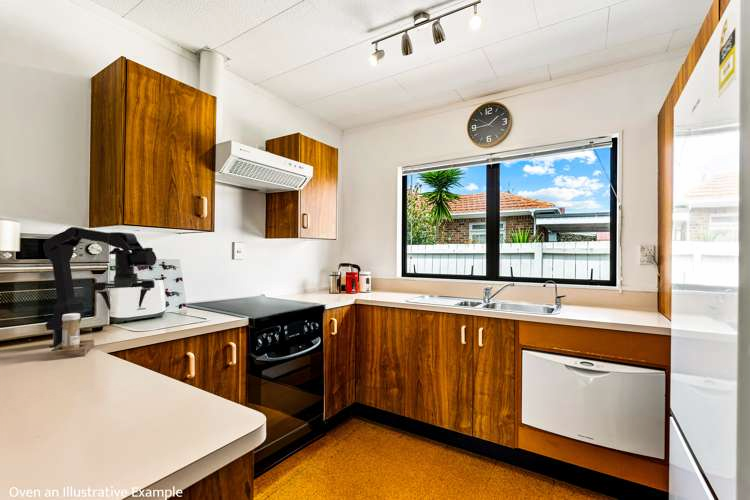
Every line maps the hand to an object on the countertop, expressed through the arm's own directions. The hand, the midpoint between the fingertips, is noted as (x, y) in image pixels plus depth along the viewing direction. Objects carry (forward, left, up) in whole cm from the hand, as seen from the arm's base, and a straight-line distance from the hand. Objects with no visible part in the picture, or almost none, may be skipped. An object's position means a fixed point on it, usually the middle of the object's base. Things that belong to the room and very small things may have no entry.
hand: (124, 308), depth 133 cm
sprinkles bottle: (+8, -14, -13) cm, 21 cm away
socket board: (+5, -14, -13) cm, 20 cm away
